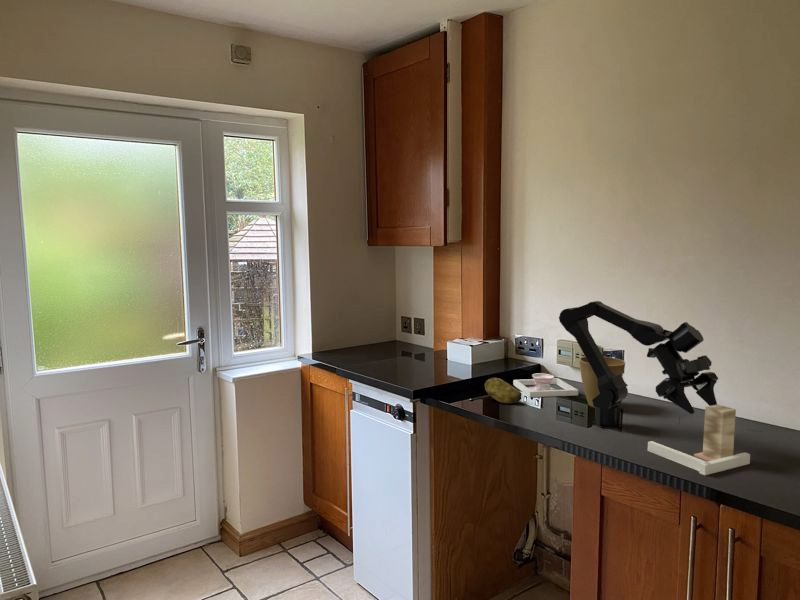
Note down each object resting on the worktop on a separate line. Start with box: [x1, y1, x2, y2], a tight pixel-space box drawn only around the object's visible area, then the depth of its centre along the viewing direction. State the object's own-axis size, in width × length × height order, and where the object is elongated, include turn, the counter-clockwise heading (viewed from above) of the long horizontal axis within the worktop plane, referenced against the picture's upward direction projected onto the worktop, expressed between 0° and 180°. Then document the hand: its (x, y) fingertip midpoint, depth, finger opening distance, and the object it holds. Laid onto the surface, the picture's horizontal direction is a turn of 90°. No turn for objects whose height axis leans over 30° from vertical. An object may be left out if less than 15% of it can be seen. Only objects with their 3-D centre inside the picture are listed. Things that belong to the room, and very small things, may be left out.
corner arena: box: [647, 440, 751, 476], centre depth 154 cm, size 18×17×2 cm
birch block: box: [702, 404, 737, 460], centre depth 153 cm, size 5×5×13 cm
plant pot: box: [579, 356, 626, 409], centre depth 201 cm, size 15×15×16 cm
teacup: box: [528, 372, 558, 391], centre depth 221 cm, size 12×12×6 cm
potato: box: [484, 377, 522, 404], centre depth 207 cm, size 8×13×8 cm, turn 39°
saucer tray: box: [512, 377, 579, 398], centre depth 223 cm, size 18×18×2 cm
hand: (704, 411), depth 157 cm, fingers open, 9 cm apart
